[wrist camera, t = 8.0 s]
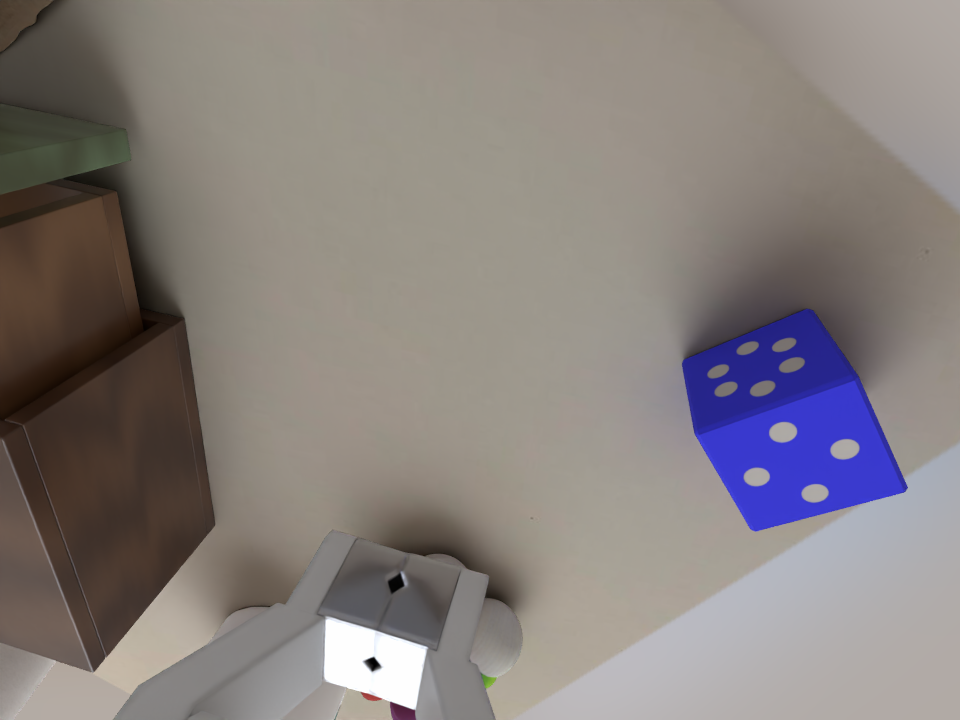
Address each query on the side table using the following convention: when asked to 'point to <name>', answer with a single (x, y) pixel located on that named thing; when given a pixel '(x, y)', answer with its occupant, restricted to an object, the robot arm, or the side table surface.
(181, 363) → the cabinet
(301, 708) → the mug
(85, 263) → the drawer
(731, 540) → the side table surface
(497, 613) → the rainbow petal toy
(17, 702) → the dixie cup
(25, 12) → the clay tablet
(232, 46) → the side table surface
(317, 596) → the robot arm
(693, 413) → the die
